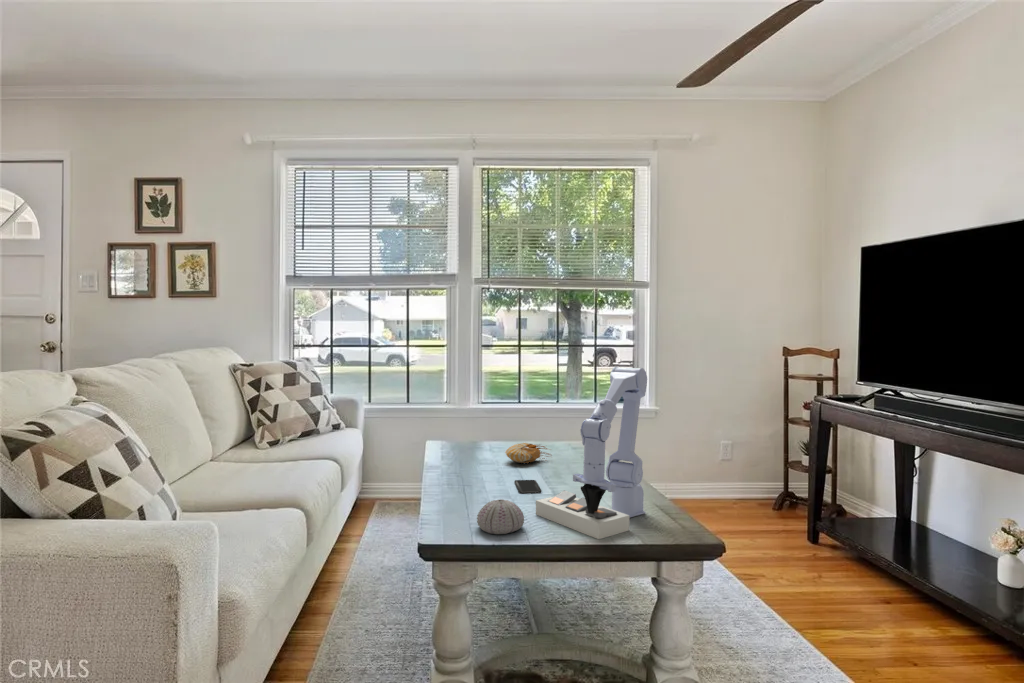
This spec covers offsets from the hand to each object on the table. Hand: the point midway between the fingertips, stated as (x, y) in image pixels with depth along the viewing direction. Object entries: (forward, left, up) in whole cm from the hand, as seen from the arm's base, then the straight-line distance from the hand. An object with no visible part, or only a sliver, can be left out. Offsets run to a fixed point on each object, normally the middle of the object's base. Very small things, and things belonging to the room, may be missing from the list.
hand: (592, 512), depth 160 cm
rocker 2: (-3, 0, -1) cm, 3 cm away
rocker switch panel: (-3, -8, -5) cm, 10 cm away
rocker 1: (-3, -16, -1) cm, 16 cm away
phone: (-14, -46, -6) cm, 49 cm away
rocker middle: (-3, -8, -1) cm, 9 cm away
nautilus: (-40, -77, -6) cm, 86 cm away
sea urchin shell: (+19, -17, -6) cm, 26 cm away
